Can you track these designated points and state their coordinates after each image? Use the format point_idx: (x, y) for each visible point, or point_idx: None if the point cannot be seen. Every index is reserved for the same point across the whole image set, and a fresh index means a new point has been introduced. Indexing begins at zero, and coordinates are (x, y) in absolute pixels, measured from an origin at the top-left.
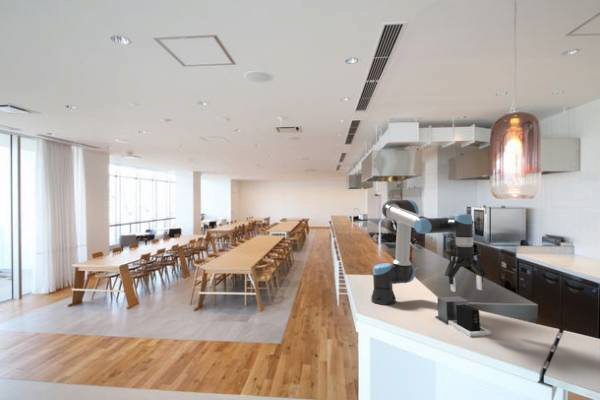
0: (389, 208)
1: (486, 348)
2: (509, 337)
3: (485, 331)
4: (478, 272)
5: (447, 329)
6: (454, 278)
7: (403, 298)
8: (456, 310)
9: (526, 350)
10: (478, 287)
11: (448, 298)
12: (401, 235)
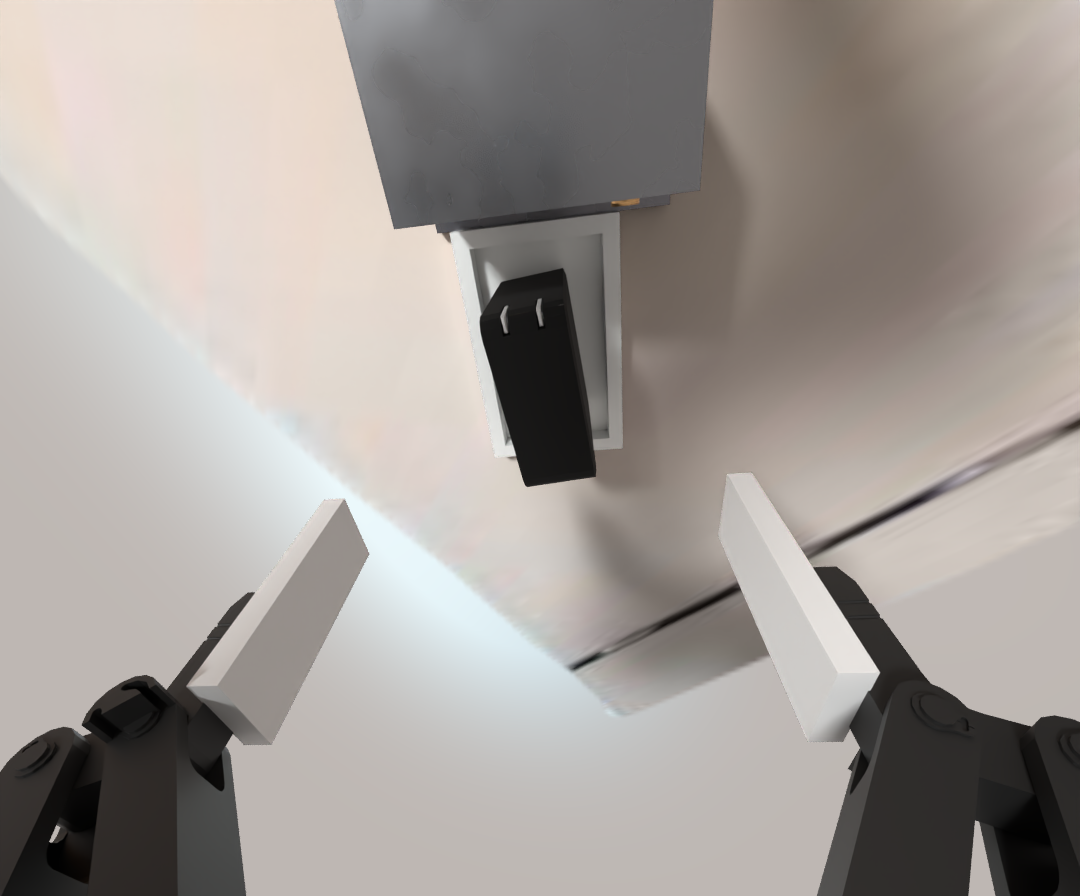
0: None
1: (506, 547)
2: (699, 466)
3: (594, 448)
4: (830, 849)
5: (413, 332)
6: (265, 730)
7: None
8: (486, 307)
9: (653, 572)
10: (731, 523)
11: (481, 32)
12: None
